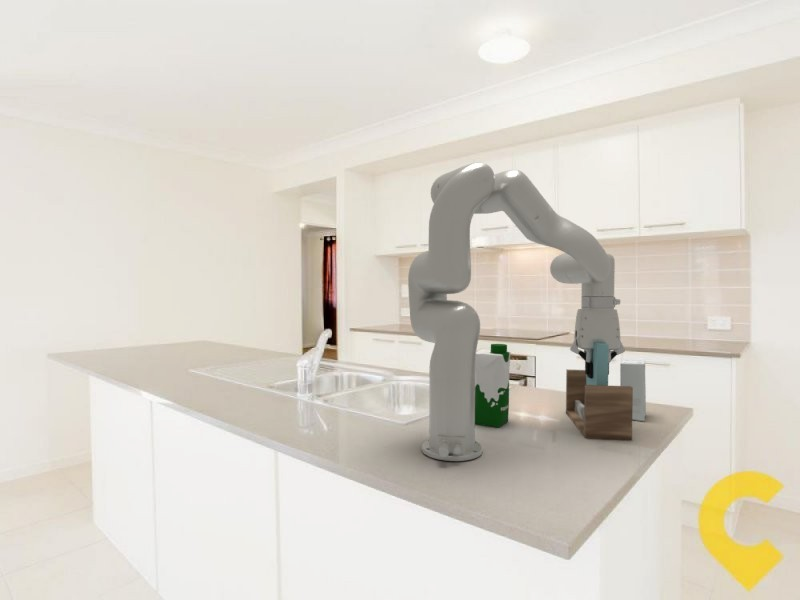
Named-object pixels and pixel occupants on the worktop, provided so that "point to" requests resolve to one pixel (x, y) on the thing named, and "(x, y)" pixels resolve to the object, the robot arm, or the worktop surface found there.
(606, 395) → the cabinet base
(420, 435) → the worktop surface
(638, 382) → the skincare box
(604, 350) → the door panel
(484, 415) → the milk carton
